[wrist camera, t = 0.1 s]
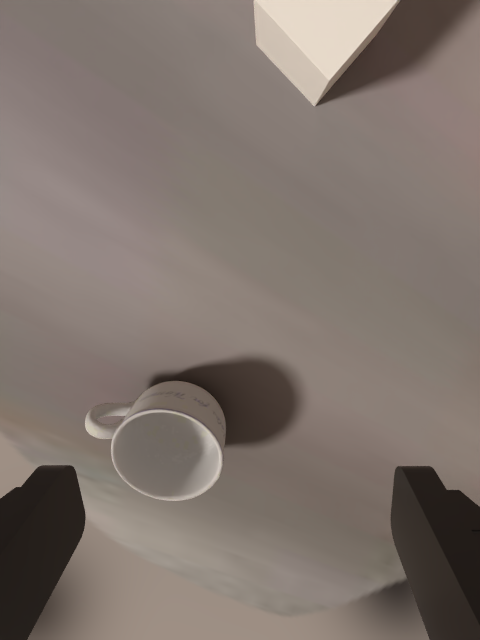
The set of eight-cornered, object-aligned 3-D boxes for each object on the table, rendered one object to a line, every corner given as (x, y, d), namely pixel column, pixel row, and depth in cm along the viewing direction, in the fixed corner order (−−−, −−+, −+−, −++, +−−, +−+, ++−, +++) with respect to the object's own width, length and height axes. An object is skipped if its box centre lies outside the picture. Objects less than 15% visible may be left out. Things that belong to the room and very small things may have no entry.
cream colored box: (316, -34, 29) (333, -110, 22) (376, 35, 30) (411, -16, 23) (256, 44, 31) (253, -2, 24) (314, 106, 32) (329, 80, 25)
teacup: (248, 400, 42) (244, 446, 34) (200, 467, 45) (187, 522, 37) (137, 337, 40) (107, 370, 33) (96, 411, 43) (60, 457, 36)
